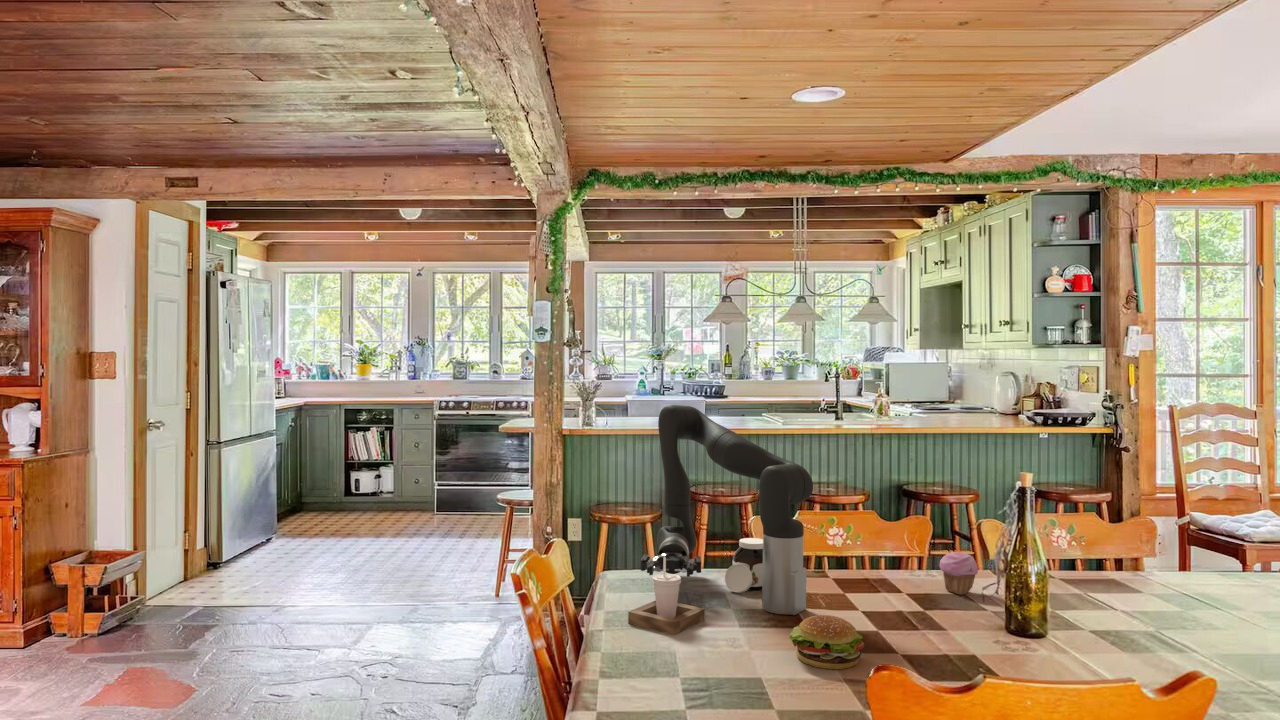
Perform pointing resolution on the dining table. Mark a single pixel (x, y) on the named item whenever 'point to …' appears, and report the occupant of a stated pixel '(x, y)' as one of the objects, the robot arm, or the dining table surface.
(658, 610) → the smoothie
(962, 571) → the cupcake
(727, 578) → the spread jar
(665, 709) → the dining table surface
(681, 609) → the walnut socket block
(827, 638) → the food
